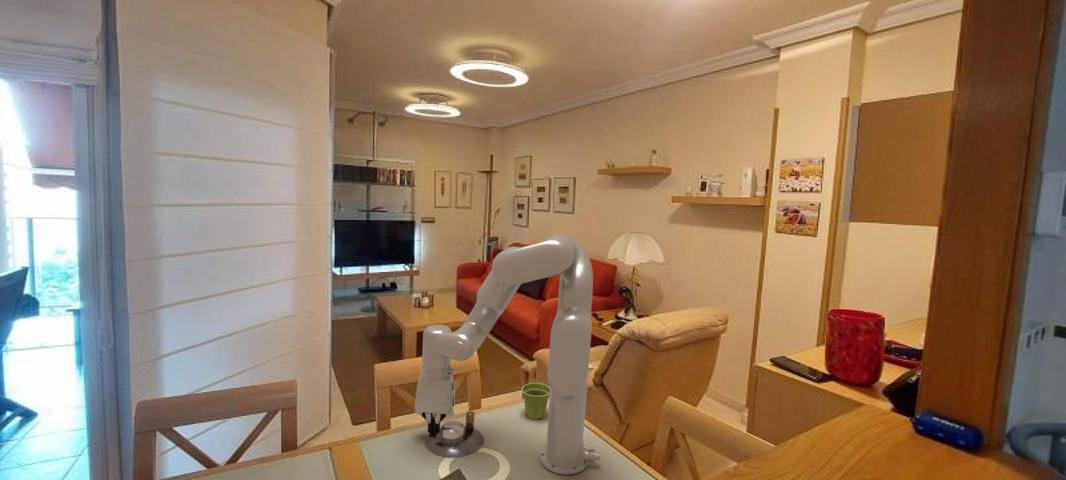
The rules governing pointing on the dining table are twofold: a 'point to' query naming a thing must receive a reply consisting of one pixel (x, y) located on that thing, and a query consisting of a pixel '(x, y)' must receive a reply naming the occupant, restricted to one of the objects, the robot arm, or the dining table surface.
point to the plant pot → (535, 399)
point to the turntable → (467, 447)
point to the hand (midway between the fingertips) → (433, 434)
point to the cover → (452, 433)
